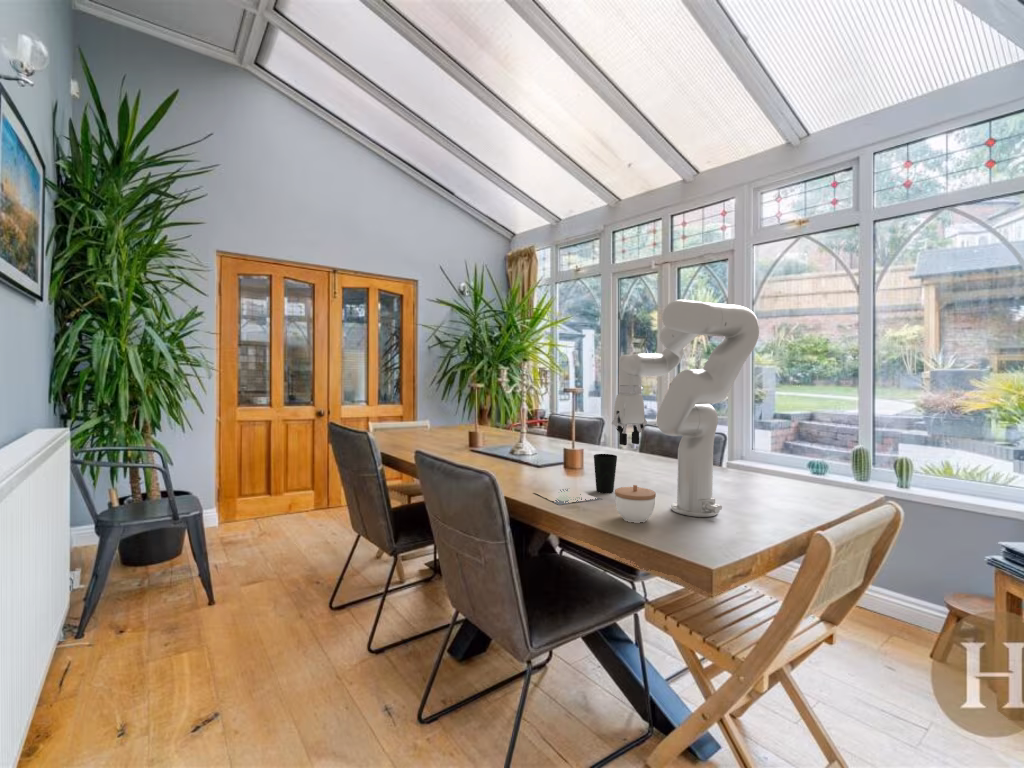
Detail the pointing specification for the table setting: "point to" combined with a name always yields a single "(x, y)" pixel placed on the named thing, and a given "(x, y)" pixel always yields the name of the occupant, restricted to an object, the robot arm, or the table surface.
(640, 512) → the lidded jar
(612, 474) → the cup
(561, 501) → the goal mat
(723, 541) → the table surface
